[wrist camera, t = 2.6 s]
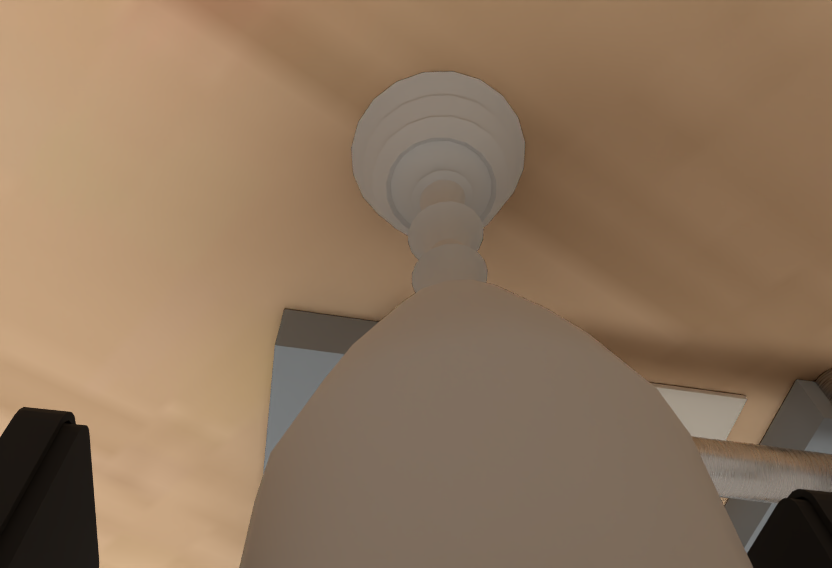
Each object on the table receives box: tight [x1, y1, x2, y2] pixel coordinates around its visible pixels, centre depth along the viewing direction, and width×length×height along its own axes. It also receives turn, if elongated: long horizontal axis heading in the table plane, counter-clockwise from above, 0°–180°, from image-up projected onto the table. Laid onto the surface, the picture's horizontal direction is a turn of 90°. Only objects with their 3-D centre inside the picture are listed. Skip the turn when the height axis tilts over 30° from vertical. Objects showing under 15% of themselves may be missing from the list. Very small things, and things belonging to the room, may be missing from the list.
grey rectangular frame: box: [263, 309, 832, 553], centre depth 29 cm, size 24×18×2 cm
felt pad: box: [651, 383, 747, 440], centre depth 28 cm, size 9×9×1 cm
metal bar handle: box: [691, 369, 832, 504], centre depth 23 cm, size 17×2×6 cm, turn 80°
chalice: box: [239, 71, 753, 568], centre depth 14 cm, size 7×7×18 cm
